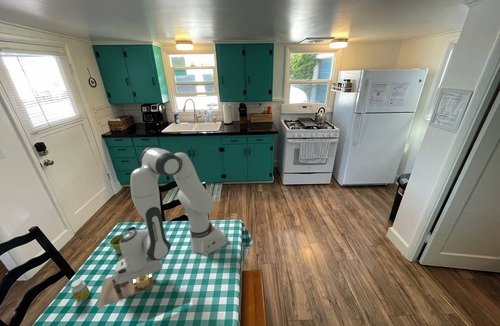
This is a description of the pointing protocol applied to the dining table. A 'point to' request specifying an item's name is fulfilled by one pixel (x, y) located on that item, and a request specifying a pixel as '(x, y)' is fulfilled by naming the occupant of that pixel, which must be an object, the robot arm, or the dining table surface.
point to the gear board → (123, 294)
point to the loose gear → (142, 283)
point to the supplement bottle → (80, 290)
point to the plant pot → (116, 243)
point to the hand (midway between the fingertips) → (143, 280)
